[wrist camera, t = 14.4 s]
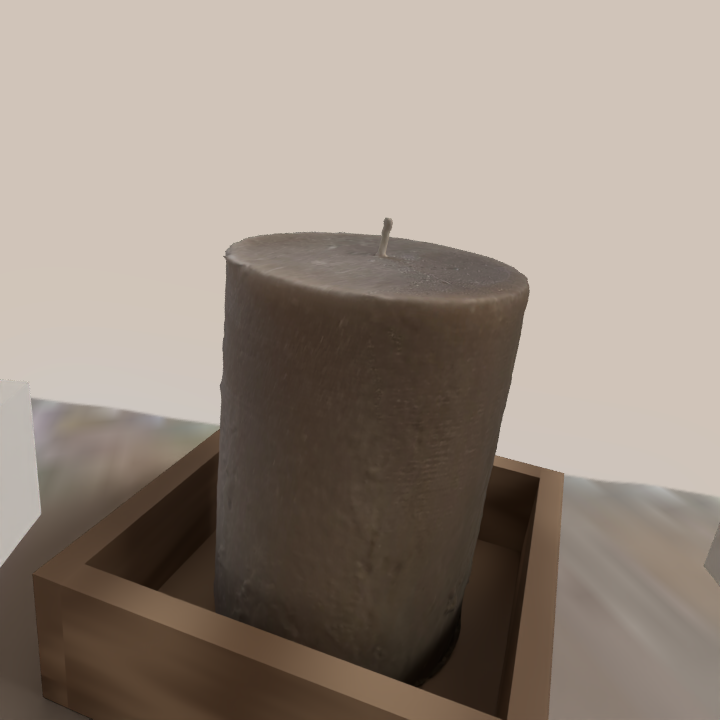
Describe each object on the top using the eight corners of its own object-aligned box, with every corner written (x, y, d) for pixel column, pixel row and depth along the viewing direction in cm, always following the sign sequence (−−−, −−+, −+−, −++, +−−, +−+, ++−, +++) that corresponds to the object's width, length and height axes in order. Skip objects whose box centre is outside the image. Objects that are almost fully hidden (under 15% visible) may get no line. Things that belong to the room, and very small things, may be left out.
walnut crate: (539, 563, 30) (564, 473, 28) (502, 903, 17) (544, 772, 15) (258, 478, 34) (263, 394, 32) (43, 696, 20) (32, 573, 19)
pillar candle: (511, 641, 24) (612, 248, 19) (282, 760, 18) (334, 252, 13) (367, 506, 31) (410, 198, 26) (172, 562, 26) (177, 186, 20)
